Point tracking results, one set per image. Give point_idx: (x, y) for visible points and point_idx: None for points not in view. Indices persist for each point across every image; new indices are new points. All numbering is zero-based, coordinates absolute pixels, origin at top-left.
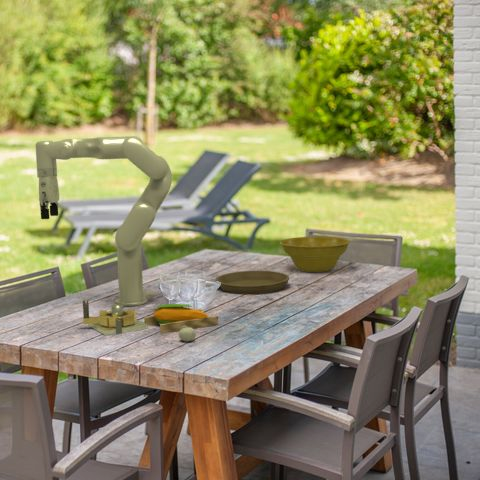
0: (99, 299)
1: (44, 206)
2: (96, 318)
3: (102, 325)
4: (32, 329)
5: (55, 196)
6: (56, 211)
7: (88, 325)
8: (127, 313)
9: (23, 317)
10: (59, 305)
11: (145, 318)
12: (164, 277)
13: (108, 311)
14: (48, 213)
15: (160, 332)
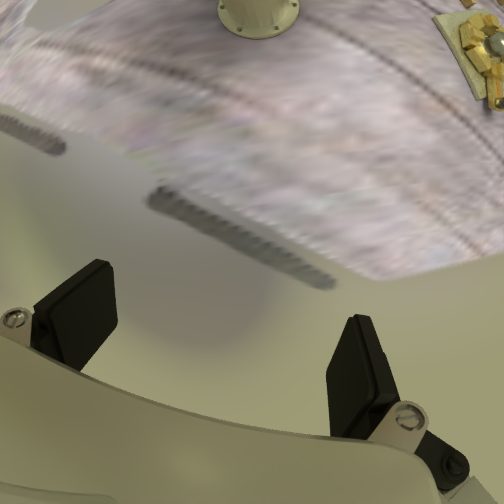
0: (205, 85)
1: (439, 440)
2: (501, 85)
3: None
4: (480, 209)
5: (95, 498)
6: (89, 290)
7: (476, 99)
8: (483, 26)
9: (384, 242)
10: (267, 175)
11: (475, 3)
12: (30, 40)
13: (479, 55)
14: (381, 352)
15: (501, 4)
